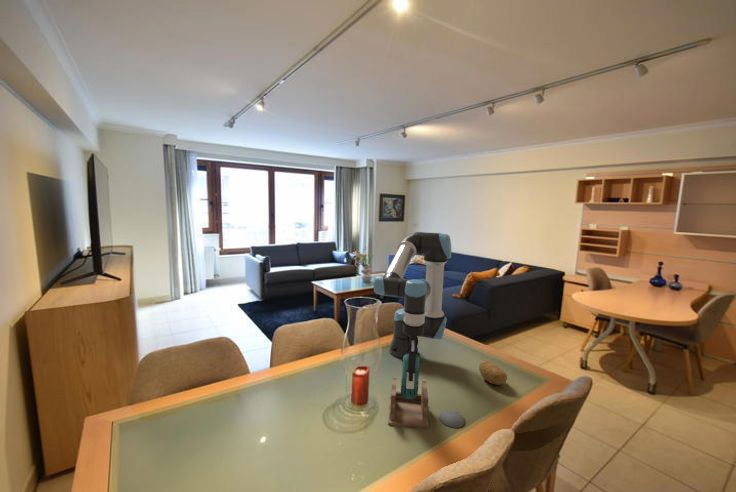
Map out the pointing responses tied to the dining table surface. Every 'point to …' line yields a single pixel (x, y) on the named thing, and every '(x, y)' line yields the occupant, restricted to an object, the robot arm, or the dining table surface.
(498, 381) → the potato
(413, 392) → the beverage bottle
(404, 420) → the holder
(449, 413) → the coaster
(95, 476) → the dining table surface
